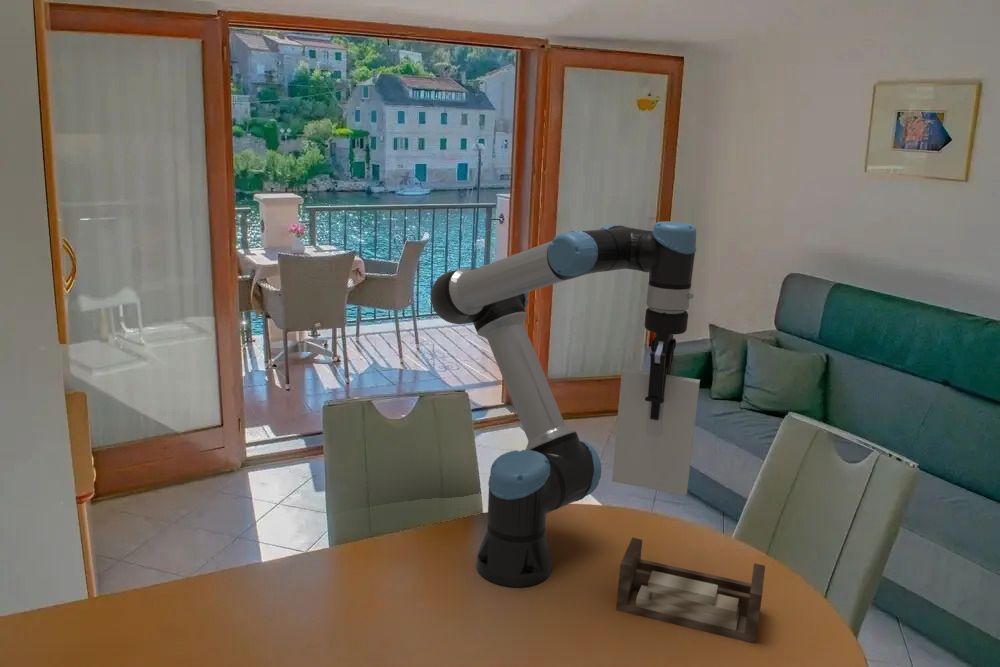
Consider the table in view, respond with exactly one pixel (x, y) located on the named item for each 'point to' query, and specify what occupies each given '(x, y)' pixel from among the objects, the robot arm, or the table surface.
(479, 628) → the table surface
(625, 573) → the rack
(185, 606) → the table surface
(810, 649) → the table surface
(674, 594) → the offcuts
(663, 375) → the robot arm
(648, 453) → the sheet
